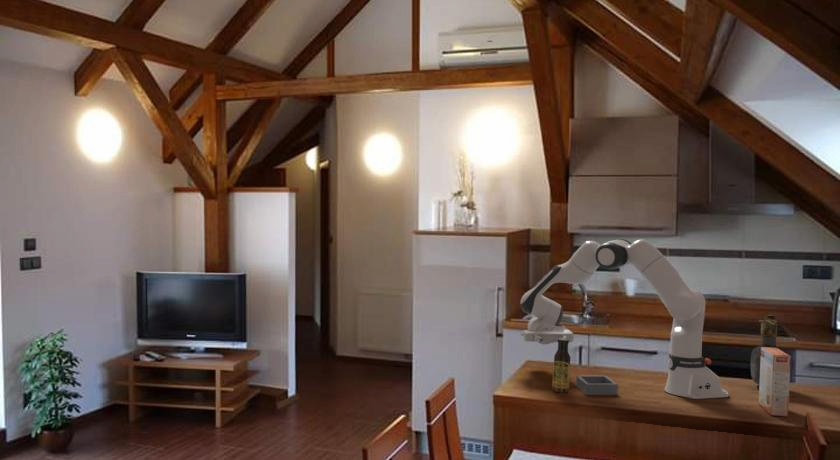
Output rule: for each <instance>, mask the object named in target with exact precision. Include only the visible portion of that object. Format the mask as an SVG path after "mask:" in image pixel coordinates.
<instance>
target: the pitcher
mask: <svg viewBox="0 0 840 460" xmlns="http://www.w3.org/2000/svg"><path fill="white" fill-rule="evenodd" d="M764 313H765V314H766V316H765V318H761V319H758V321H759V323H760V335H761V345H759V346H757V347H754V348H753V349H752V351H751V355H750V376H751V378H752V381H753V382H754V383H755V384H757V385H756V389H757V390H758V391H759V385H760V360H761V347H769V348H778V347H777V336H778V326H779V324H781V322H782V321H781V320H776V319H778V318H777V317H776V315H773V314H772V313H769V312H768V311H765V312H764ZM778 349H780V350H781V351H783V350H782V349H781V348H778Z"/></svg>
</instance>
